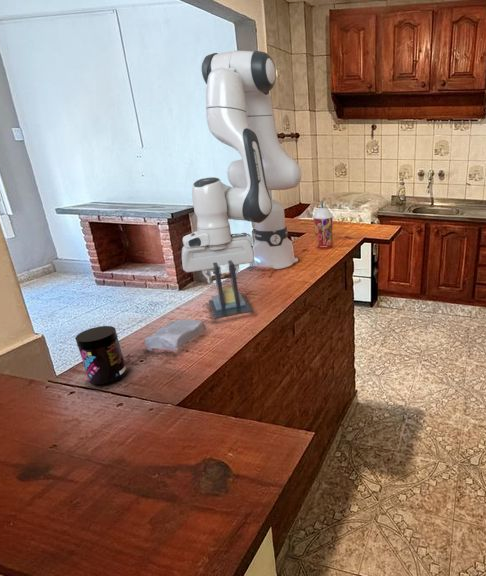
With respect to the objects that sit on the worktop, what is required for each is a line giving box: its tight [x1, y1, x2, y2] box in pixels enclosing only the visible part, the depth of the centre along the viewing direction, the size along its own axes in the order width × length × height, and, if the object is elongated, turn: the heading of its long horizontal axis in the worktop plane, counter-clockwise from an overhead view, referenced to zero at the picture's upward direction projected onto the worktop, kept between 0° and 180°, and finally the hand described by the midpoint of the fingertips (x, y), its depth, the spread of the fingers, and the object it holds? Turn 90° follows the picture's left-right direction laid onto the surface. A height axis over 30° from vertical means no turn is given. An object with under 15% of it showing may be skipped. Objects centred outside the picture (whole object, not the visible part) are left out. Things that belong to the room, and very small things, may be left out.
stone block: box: [144, 318, 206, 352], centre depth 96 cm, size 12×5×10 cm
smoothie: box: [312, 200, 334, 250], centre depth 172 cm, size 8×8×20 cm
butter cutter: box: [208, 260, 254, 320], centre depth 111 cm, size 14×10×14 cm
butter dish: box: [211, 284, 246, 311], centre depth 115 cm, size 10×8×4 cm
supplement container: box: [75, 325, 128, 388], centre depth 80 cm, size 7×7×10 cm
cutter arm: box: [211, 264, 231, 282], centre depth 114 cm, size 14×6×2 cm, turn 26°
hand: (222, 280), depth 120 cm, fingers closed on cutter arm, 5 cm apart
